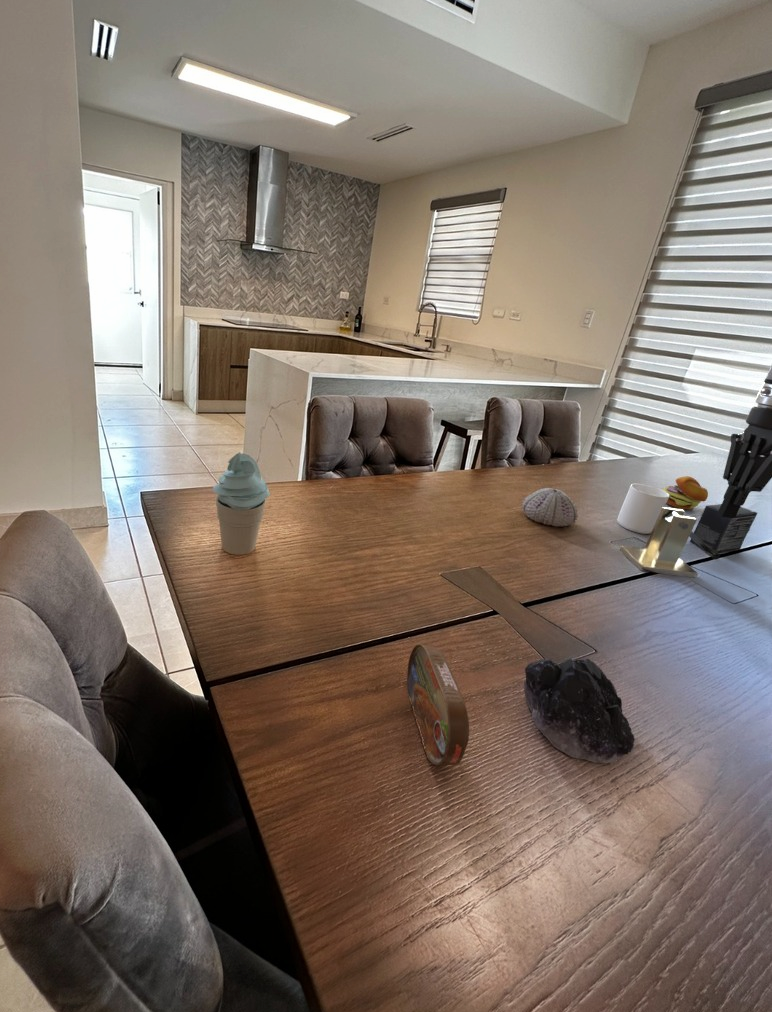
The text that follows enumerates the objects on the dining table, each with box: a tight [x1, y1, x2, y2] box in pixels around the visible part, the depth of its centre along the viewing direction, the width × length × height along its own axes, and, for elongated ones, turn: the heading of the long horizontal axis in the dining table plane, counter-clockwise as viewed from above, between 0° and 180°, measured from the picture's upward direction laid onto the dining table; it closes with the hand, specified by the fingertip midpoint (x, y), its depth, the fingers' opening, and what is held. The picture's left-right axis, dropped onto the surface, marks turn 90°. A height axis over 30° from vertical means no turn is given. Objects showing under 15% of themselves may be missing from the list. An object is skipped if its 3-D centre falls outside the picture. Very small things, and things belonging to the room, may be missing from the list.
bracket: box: [619, 506, 699, 579], centre depth 104 cm, size 12×9×13 cm
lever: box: [665, 511, 721, 560], centre depth 103 cm, size 13×6×2 cm
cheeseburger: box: [661, 475, 709, 510], centre depth 143 cm, size 10×11×10 cm
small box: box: [689, 503, 758, 554], centre depth 117 cm, size 11×6×10 cm, turn 111°
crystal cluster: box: [523, 657, 635, 764], centre depth 60 cm, size 13×14×10 cm
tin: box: [406, 644, 470, 766], centre depth 57 cm, size 15×3×8 cm, turn 4°
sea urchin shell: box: [521, 487, 579, 527], centre depth 121 cm, size 13×14×8 cm
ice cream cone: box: [212, 451, 271, 556], centre depth 89 cm, size 10×11×20 cm
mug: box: [617, 483, 669, 535], centre depth 124 cm, size 9×12×11 cm
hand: (725, 516), depth 101 cm, fingers closed
